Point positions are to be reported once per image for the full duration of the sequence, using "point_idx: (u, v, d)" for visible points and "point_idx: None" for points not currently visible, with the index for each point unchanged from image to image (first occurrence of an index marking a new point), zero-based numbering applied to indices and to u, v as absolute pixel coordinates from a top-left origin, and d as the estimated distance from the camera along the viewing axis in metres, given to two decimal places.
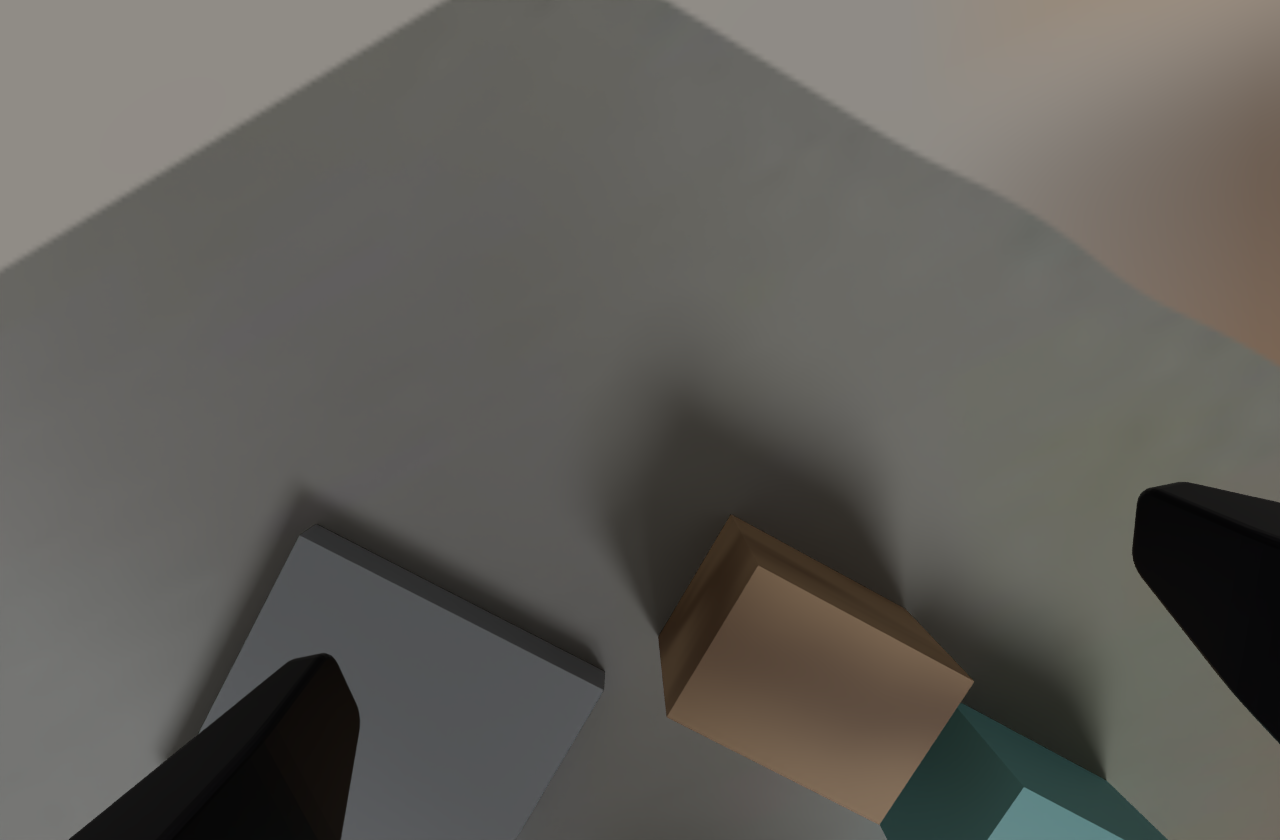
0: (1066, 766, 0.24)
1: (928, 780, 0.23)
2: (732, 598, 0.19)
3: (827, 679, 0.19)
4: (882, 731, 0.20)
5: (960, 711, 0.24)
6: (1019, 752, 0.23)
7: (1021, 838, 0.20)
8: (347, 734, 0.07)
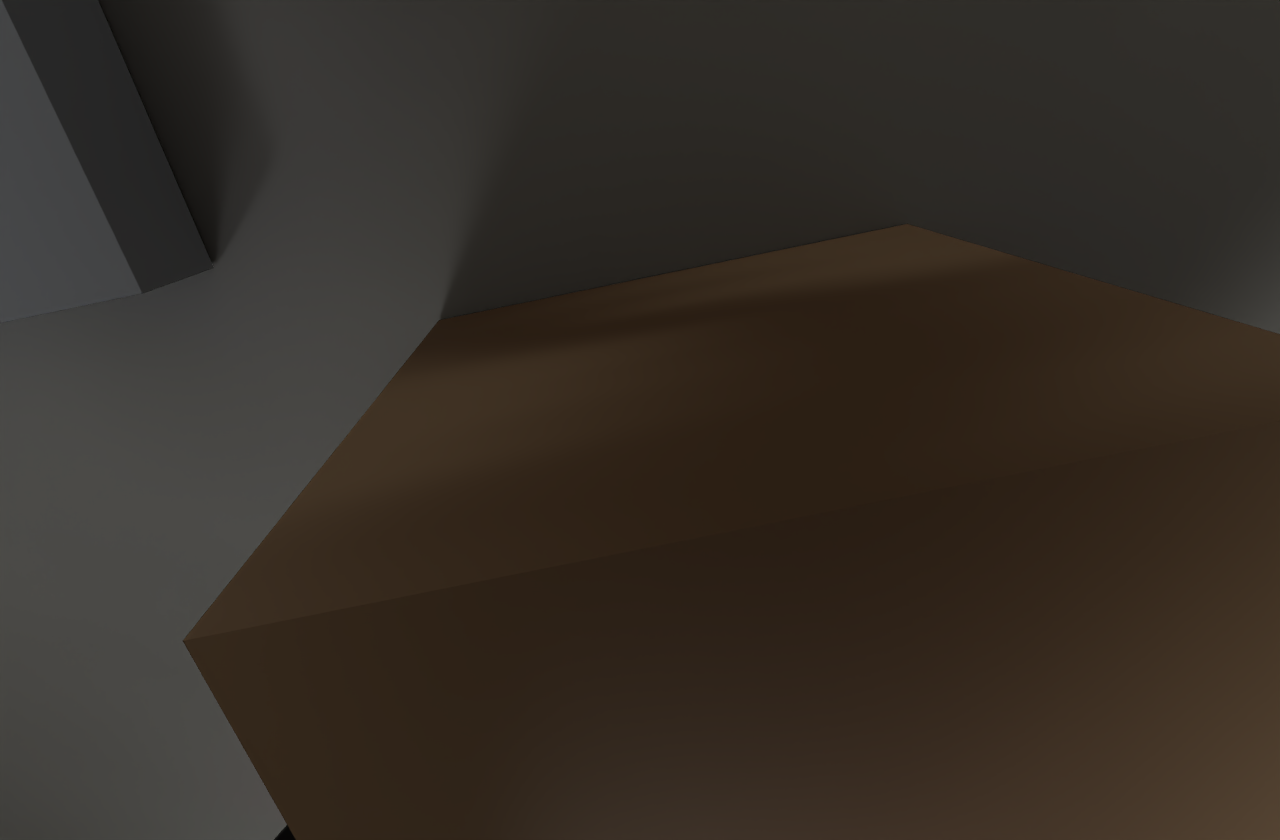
0: None
1: None
2: (1061, 410, 0.03)
3: None
4: None
5: None
6: None
7: None
8: None
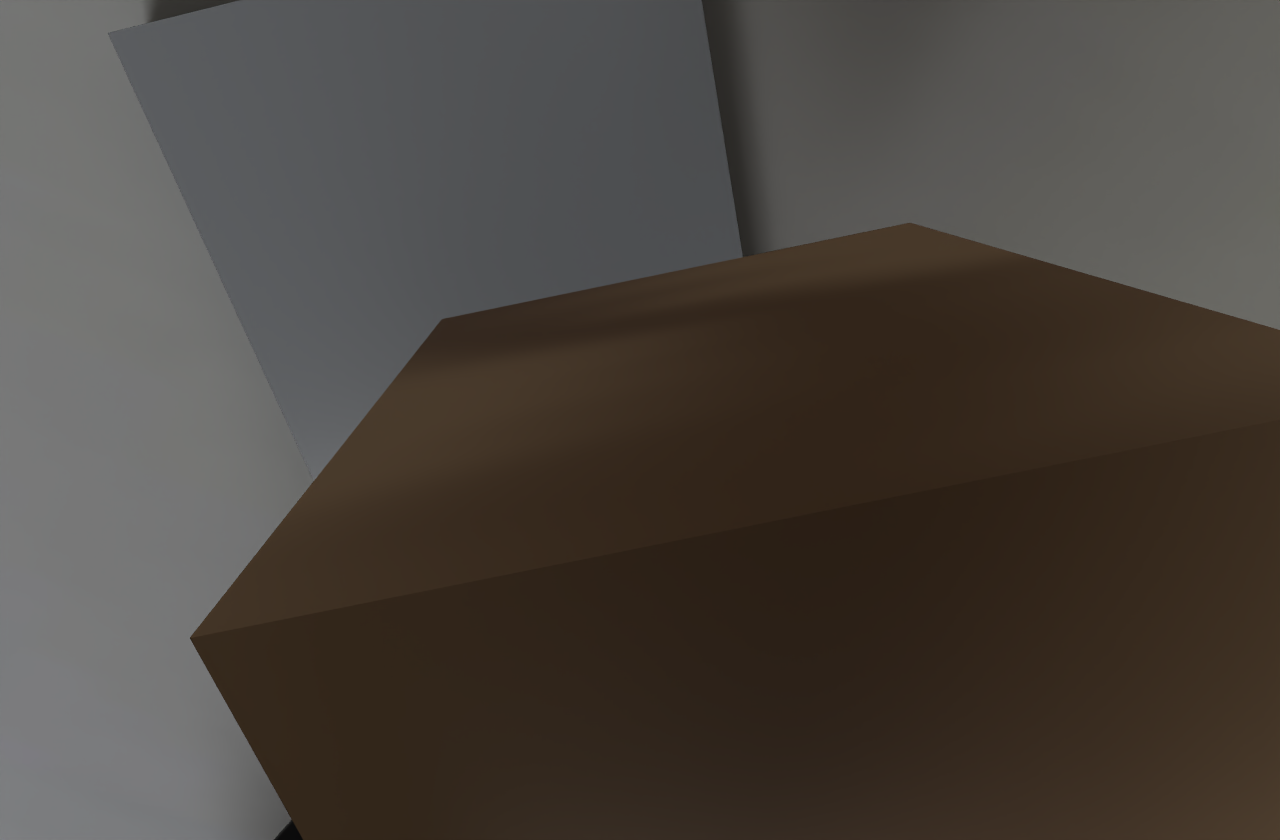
0: None
1: None
2: (1066, 408, 0.03)
3: None
4: None
5: None
6: None
7: None
8: None
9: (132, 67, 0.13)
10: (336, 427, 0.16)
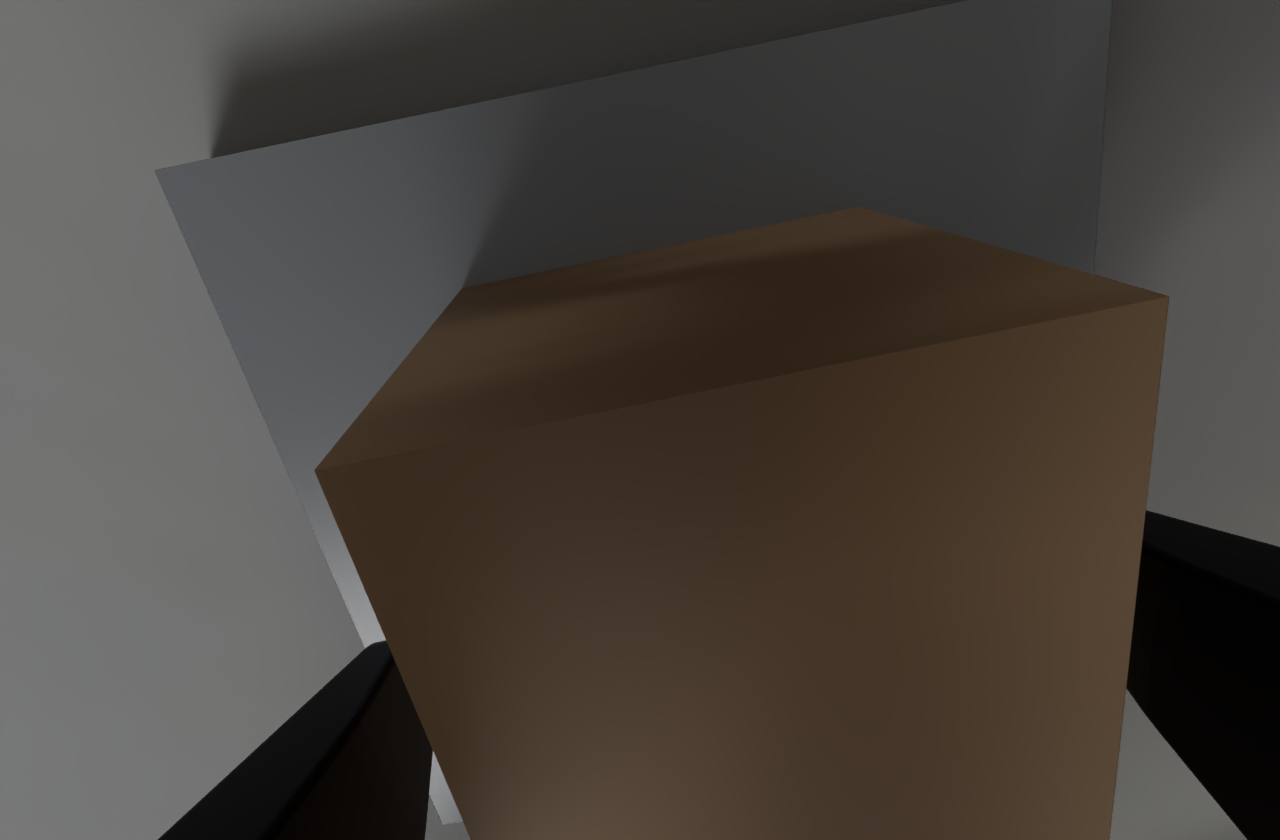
0: None
1: None
2: (919, 322, 0.04)
3: (872, 775, 0.05)
4: None
5: None
6: None
7: None
8: None
9: (192, 223, 0.08)
10: None
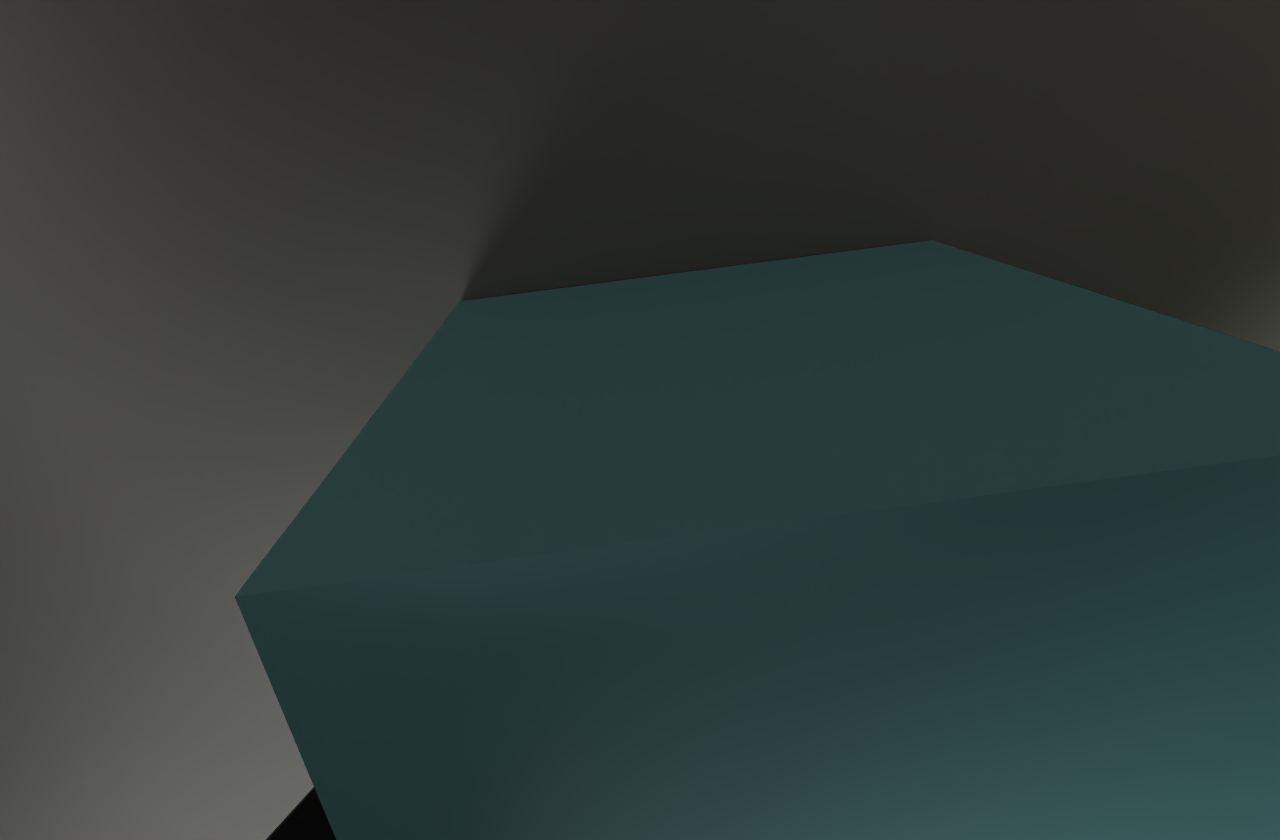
0: None
1: (735, 309, 0.06)
2: None
3: None
4: None
5: None
6: None
7: (1126, 644, 0.03)
8: None
9: None
10: None
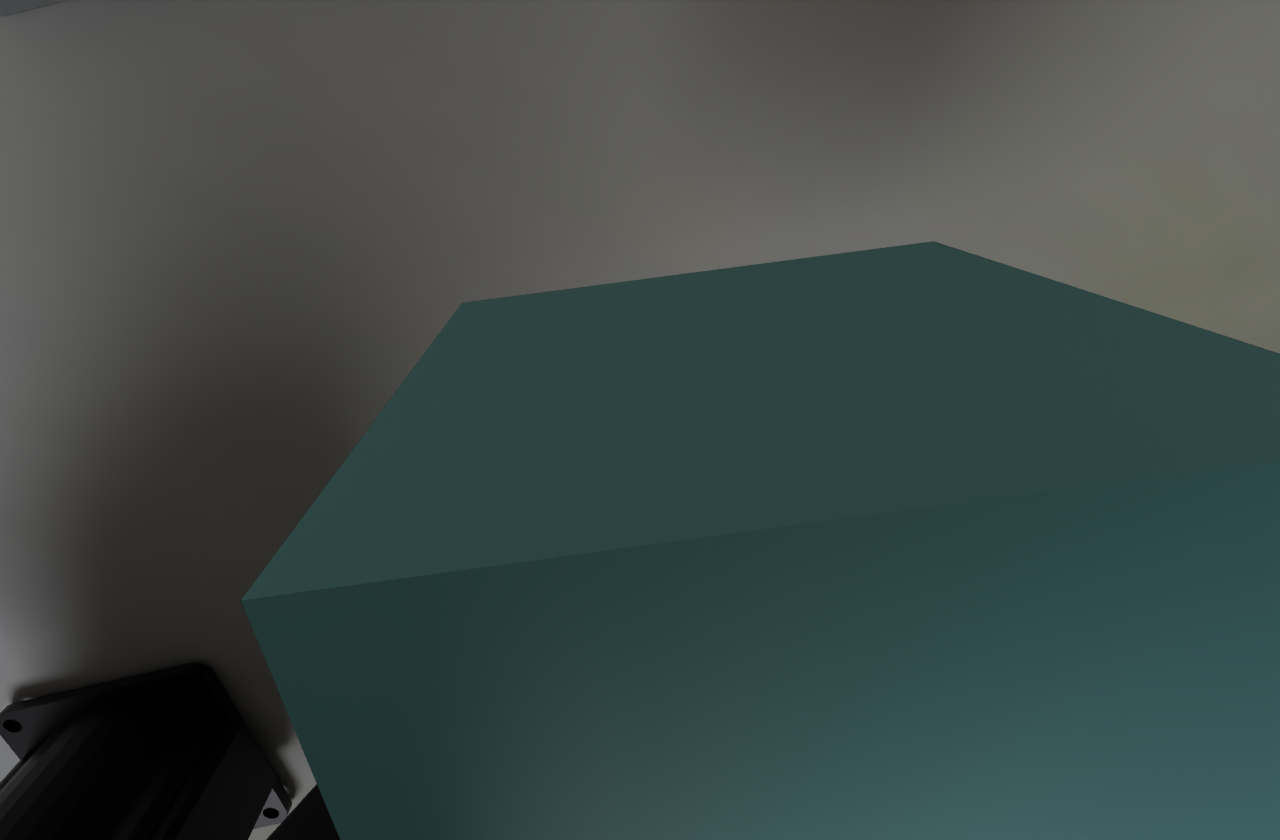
0: None
1: (737, 310, 0.06)
2: None
3: None
4: None
5: None
6: None
7: (1129, 646, 0.03)
8: None
9: None
10: None
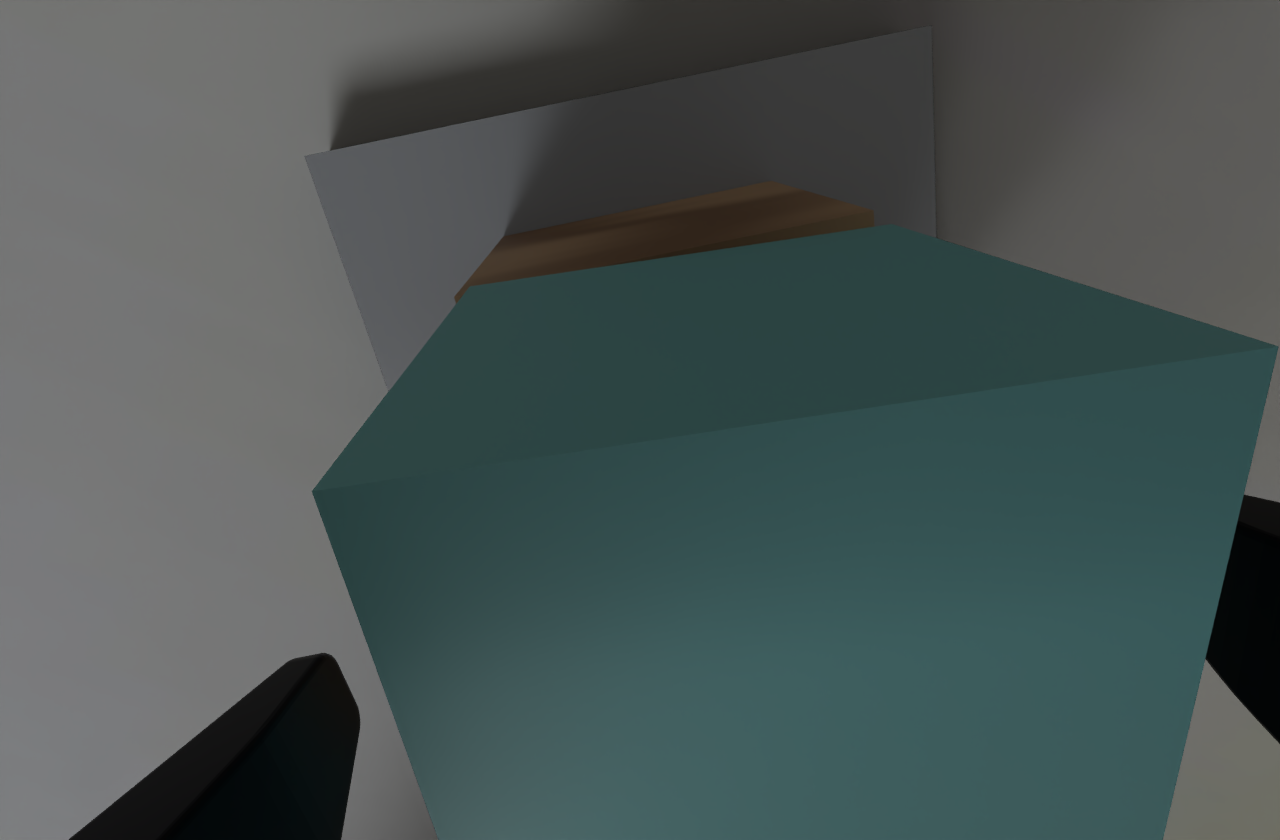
0: None
1: (708, 285, 0.07)
2: (759, 228, 0.09)
3: None
4: None
5: None
6: None
7: (1000, 527, 0.04)
8: (347, 734, 0.07)
9: (326, 191, 0.12)
10: None
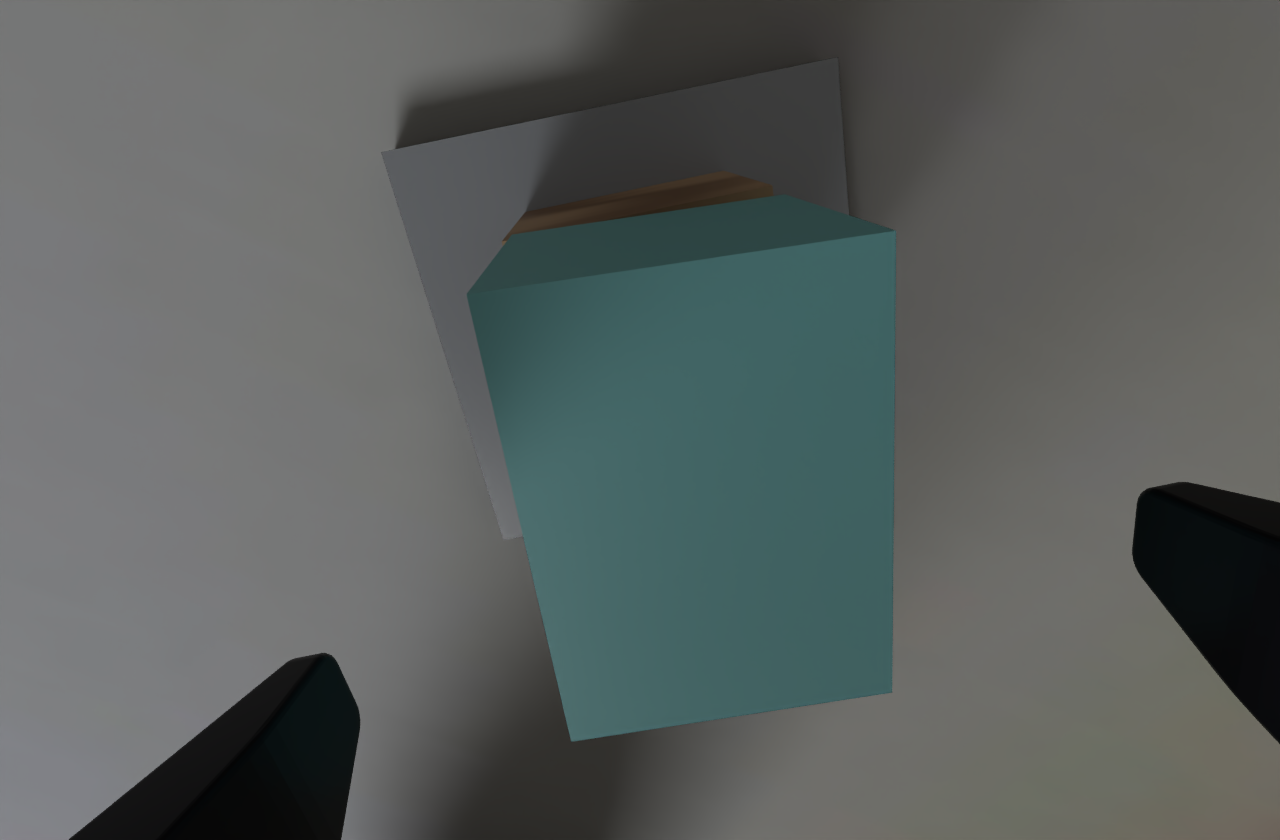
0: None
1: (660, 226, 0.11)
2: (700, 197, 0.13)
3: None
4: None
5: None
6: None
7: (781, 319, 0.08)
8: (347, 734, 0.07)
9: (396, 178, 0.17)
10: None
